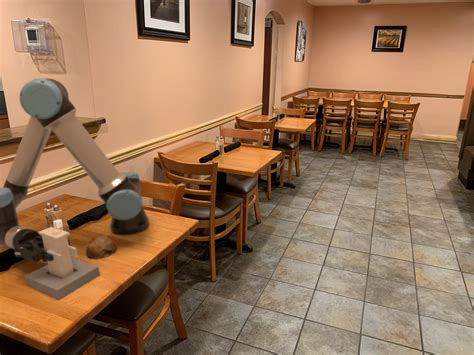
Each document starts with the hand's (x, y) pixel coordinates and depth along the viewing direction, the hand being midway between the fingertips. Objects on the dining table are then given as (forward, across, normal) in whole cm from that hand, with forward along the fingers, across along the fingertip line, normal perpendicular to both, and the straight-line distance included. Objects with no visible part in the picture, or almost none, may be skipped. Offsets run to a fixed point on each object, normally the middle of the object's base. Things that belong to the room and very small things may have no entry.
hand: (68, 256), depth 104 cm
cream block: (-5, 0, -8) cm, 9 cm away
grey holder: (-5, 0, -10) cm, 11 cm away
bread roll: (-10, -18, -10) cm, 22 cm away
